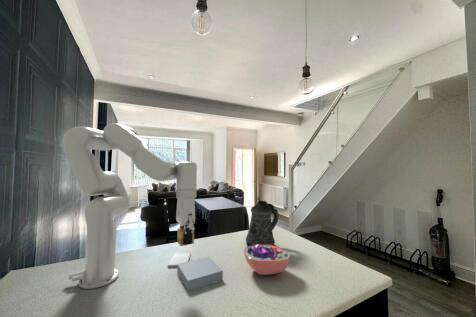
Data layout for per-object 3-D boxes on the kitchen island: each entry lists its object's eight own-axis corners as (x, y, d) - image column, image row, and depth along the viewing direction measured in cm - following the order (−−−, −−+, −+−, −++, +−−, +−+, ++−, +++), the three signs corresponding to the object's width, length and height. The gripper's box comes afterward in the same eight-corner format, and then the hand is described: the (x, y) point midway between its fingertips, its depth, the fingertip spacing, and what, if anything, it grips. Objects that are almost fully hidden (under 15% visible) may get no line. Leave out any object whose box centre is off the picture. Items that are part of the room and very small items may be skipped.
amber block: (180, 246, 70) (180, 232, 71) (177, 241, 75) (177, 228, 75) (193, 243, 73) (194, 230, 73) (190, 239, 77) (190, 226, 77)
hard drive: (186, 264, 86) (190, 252, 98) (167, 265, 85) (174, 252, 97) (186, 268, 85) (190, 255, 98) (167, 269, 85) (174, 255, 97)
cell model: (291, 286, 73) (291, 256, 73) (239, 279, 77) (240, 250, 77) (289, 265, 89) (289, 240, 90) (246, 259, 93) (246, 236, 94)
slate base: (187, 292, 69) (188, 280, 69) (177, 273, 81) (177, 263, 81) (222, 281, 76) (222, 270, 77) (208, 265, 88) (208, 256, 88)
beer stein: (240, 246, 110) (240, 201, 111) (257, 236, 125) (258, 197, 126) (265, 254, 100) (266, 205, 101) (281, 243, 115) (282, 200, 116)
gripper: (171, 191, 80) (170, 236, 79) (182, 197, 66) (181, 252, 65) (189, 190, 84) (188, 233, 83) (203, 195, 69) (202, 247, 68)
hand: (185, 241), depth 74 cm, fingers closed on amber block, 5 cm apart
